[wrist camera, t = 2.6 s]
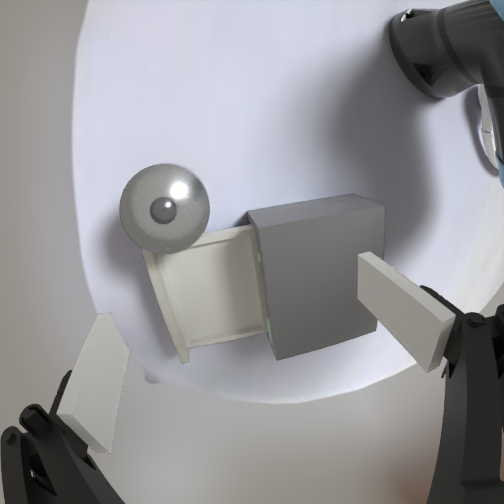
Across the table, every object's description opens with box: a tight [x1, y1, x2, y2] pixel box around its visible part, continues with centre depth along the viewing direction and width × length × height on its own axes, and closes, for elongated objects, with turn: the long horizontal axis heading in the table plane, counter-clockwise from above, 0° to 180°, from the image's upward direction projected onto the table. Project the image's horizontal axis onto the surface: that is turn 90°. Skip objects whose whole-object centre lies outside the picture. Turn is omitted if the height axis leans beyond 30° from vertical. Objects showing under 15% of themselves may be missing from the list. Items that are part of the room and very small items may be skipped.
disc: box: [119, 163, 210, 255], centre depth 24 cm, size 8×8×2 cm
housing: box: [247, 194, 385, 360], centre depth 33 cm, size 14×17×7 cm
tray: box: [141, 224, 269, 363], centre depth 33 cm, size 14×17×4 cm
